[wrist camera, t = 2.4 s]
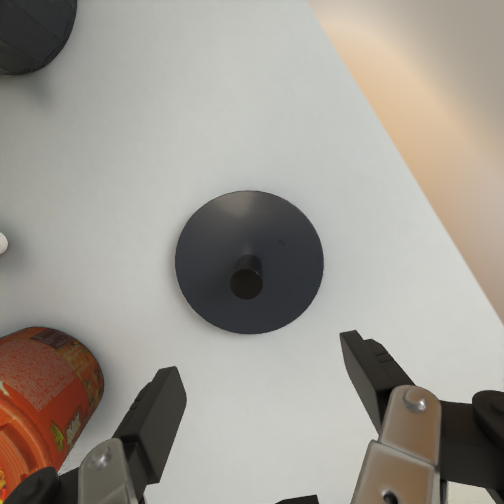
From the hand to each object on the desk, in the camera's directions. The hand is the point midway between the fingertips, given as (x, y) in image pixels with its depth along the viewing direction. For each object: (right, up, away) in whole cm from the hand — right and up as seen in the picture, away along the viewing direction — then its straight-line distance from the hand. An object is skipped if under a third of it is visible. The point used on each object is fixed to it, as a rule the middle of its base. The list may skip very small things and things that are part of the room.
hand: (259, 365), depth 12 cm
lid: (-1, +4, +13) cm, 14 cm away
